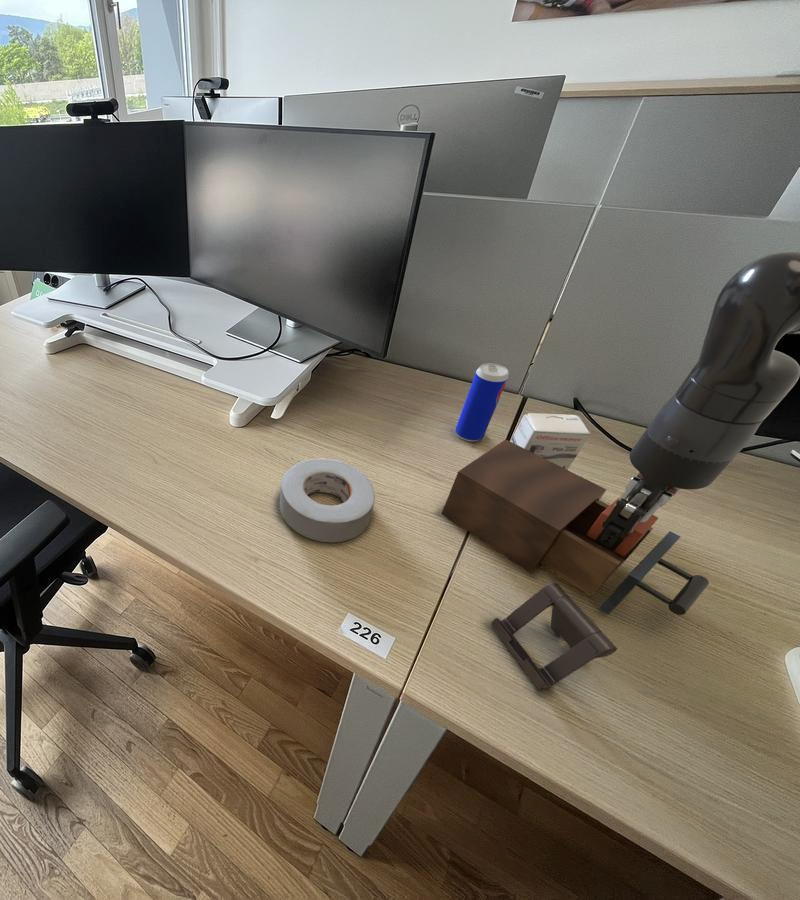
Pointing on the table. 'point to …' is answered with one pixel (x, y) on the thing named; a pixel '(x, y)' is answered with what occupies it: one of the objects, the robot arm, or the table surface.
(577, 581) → the drawer
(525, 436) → the ink box
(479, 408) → the beverage can
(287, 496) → the tape roll
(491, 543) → the cabinet
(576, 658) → the tablet stand
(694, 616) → the table surface
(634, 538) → the block
